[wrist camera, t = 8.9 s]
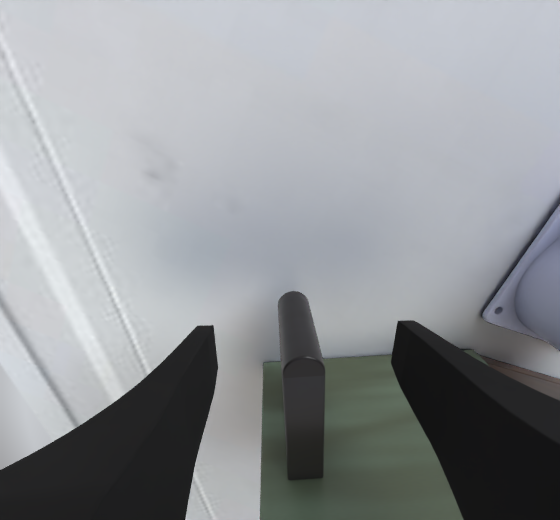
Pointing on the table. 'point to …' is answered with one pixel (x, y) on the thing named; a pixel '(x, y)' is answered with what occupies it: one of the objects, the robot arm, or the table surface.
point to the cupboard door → (342, 436)
